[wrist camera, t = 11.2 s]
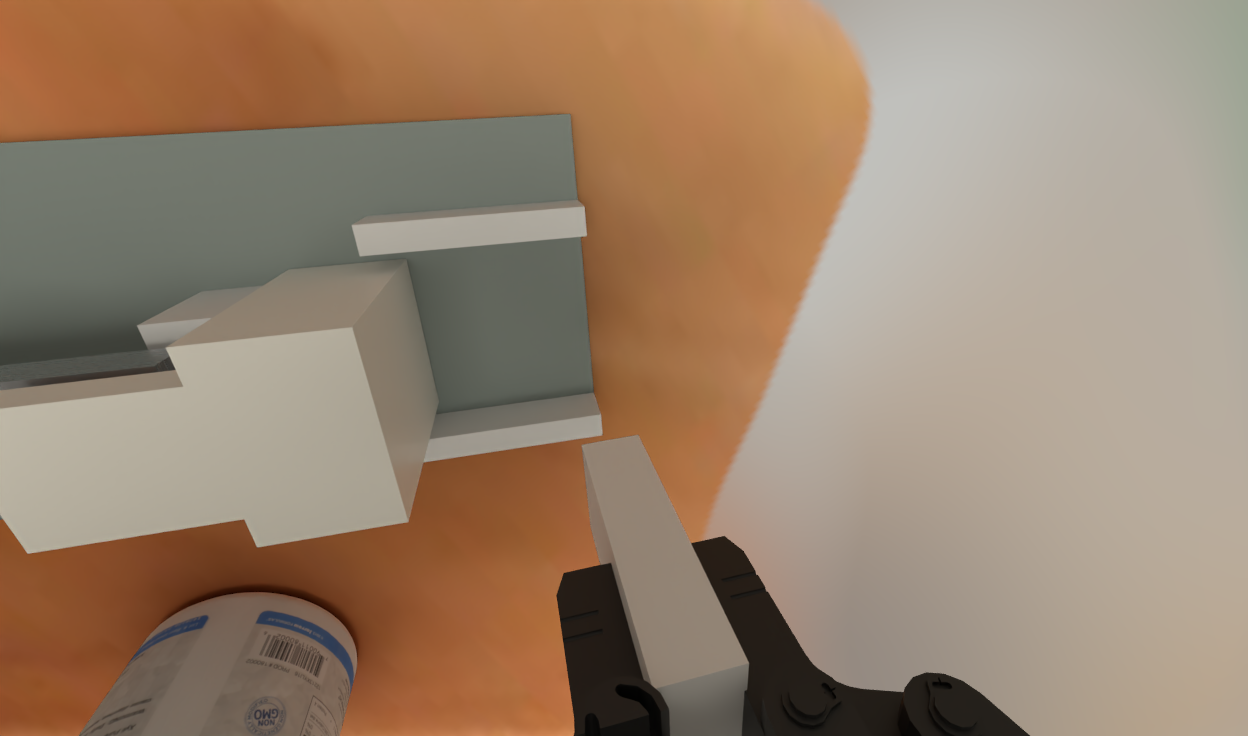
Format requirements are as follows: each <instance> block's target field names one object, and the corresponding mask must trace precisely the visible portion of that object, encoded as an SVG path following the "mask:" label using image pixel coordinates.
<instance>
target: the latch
mask: <svg viewBox="0 0 1248 736" xmlns="http://www.w3.org/2000/svg"><path fill="white" fill-rule="evenodd" d="M166 350H167V352H168V354H169V356H170V358H171V361H172V363H173V365H174V367H175V369H176V370H172V371H163V372H155V373H146V374H137V375H129V376H120V377H111V378H103V379H94V380H85V381H77V382H68V383H60V384H51V385H42V386H34V387H25V388H16V389H8V390H0V515H1V517H2V518H3V519H4V521H5V522H6V524H7V525H8V527H9V528H10V529H11V531H12V532H13V534H14V535H15V536H16V538H17V539H18V541H19V542H20V543H21V545H22V546H23V548H24V549H25V551H26V552H27V553H28V554H30V553H36V552H42V551H49V550H55V549H61V548H67V547H74V546H80V545H86V544H92V543H99V542H105V541H111V540H117V539H124V538H130V537H136V536H142V535H149V534H155V533H161V532H167V531H174V530H180V529H186V528H193V527H199V526H205V525H211V524H218V523H224V522H230V521H236V520H243V519H244V520H245V522H246V524H247V526H248V529H249V531H250V533H251V535H252V537H253V539H254V542H255V544H256V546H257V547H263V546H269V545H275V544H281V543H287V542H293V541H299V540H305V539H311V538H317V537H323V536H329V535H334V534H340V533H346V532H352V531H358V530H364V529H370V528H376V527H382V526H388V525H394V524H400V523H406V522H408V521H409V518H410V514H411V510H412V506H413V502H414V498H415V494H416V490H417V486H418V482H419V478H420V474H421V470H422V466H423V462H424V458H425V454H426V451H427V447H428V443H429V439H430V435H431V431H432V427H433V423H434V419H435V415H436V411H437V407H438V403H439V400H438V395H437V391H436V387H435V382H434V378H433V373H432V369H431V365H430V360H429V356H428V352H427V347H426V343H425V338H424V334H423V330H422V325H421V321H420V316H419V312H418V308H417V303H416V299H415V295H414V290H413V286H412V281H411V277H410V273H409V268H408V264H407V259H397V260H386V261H375V262H364V263H353V264H342V265H331V266H320V267H309V268H298V269H289V270H287V271H285V272H284V273H282V274H281V275H279V276H278V277H276V278H274V279H273V280H271V281H270V282H268V283H267V284H265V285H263V286H262V287H260V288H259V289H257V290H255V291H254V292H252V293H251V294H249V295H248V296H246V297H244V298H243V299H241V300H240V301H238V302H237V303H235V304H233V305H232V306H230V307H229V308H227V309H226V310H224V311H222V312H221V313H219V314H218V315H216V316H215V317H213V318H211V319H210V320H208V321H207V322H205V323H204V324H202V325H200V326H199V327H197V328H196V329H194V330H192V331H191V332H189V333H188V334H186V335H185V336H183V337H181V338H180V339H178V340H177V341H175V342H174V343H172V344H170V345H169V346H167V347H166Z"/></svg>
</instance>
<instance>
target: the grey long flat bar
mask: <svg viewBox="0 0 1248 736" xmlns="http://www.w3.org/2000/svg"><path fill="white" fill-rule="evenodd" d="M172 370H176V369H175V367H174V365H173V363H172V361H171V358H170V356H169V354H168V352H167V350H166V348H162V349H152V350H142V351H133V352H123V353H113V354H104V355H94V356H84V357H75V358H65V359H55V360H46V361H36V362H26V363H17V364H7V365H0V390H8V389H16V388H25V387H34V386H42V385H51V384H60V383H68V382H77V381H85V380H94V379H103V378H111V377H120V376H129V375H137V374H146V373H155V372H163V371H172ZM1 519H3V518H2V517H1V515H0V520H1Z"/></svg>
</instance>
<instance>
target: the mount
mask: <svg viewBox="0 0 1248 736" xmlns="http://www.w3.org/2000/svg"><path fill="white" fill-rule="evenodd" d="M583 236H587V231H586V218H585V206H584V205H583V204H582V203H581V202H579V201H578V198H577V187H576V175H575V163H574V151H573V139H572V127H571V115H570V114H560V115H540V116H521V117H501V118H481V119H462V120H442V121H423V122H403V123H384V124H364V125H344V126H325V127H305V128H286V129H266V130H247V131H227V132H207V133H188V134H168V135H149V136H129V137H110V138H90V139H70V140H51V141H31V142H12V143H0V365H7V364H17V363H26V362H36V361H46V360H55V359H65V358H75V357H84V356H94V355H104V354H113V353H123V352H133V351H142V350H152V349H162V348H166V347H167V346H169V345H170V344H172V343H174V342H175V341H177V340H178V339H180V338H181V337H183V336H185V335H186V334H188V333H189V332H191V331H192V330H194V329H196V328H197V327H199V326H200V325H202V324H204V323H205V322H207V321H208V320H210V319H211V318H213V317H215V316H216V315H218V314H219V313H221V312H222V311H224V310H226V309H227V308H229V307H230V306H232V305H233V304H235V303H237V302H238V301H240V300H241V299H243V298H244V297H246V296H248V295H249V294H251V293H252V292H254V291H255V290H257V289H259V288H260V287H262V286H263V285H265V284H267V283H268V282H270V281H271V280H273V279H274V278H276V277H278V276H279V275H281V274H282V273H284V272H285V271H287V270H289V269H298V268H309V267H320V266H331V265H342V264H353V263H364V262H375V261H386V260H397V259H407V264H408V268H409V273H410V277H411V281H412V286H413V290H414V295H415V299H416V303H417V308H418V312H419V316H420V321H421V325H422V330H423V334H424V338H425V343H426V347H427V352H428V356H429V360H430V365H431V369H432V373H433V378H434V382H435V387H436V391H437V395H438V400H439V403H438V407H437V411H436V415H435V419H434V423H433V427H432V431H431V435H430V439H429V443H428V447H427V451H426V454H425V458H424V462H430V461H436V460H443V459H449V458H456V457H463V456H469V455H476V454H482V453H489V452H496V451H502V450H509V449H515V448H522V447H529V446H535V445H542V444H548V443H555V442H562V441H568V440H575V439H581V438H588V437H595V436H601V435H603V433H602V420H601V413H600V410H599V407H598V404H597V401H596V398H595V395H594V389H593V377H592V365H591V353H590V341H589V329H588V317H587V306H586V294H585V282H584V270H583V258H582V246H581V237H583Z"/></svg>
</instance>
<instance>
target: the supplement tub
mask: <svg viewBox="0 0 1248 736" xmlns="http://www.w3.org/2000/svg"><path fill="white" fill-rule="evenodd" d="M356 669H357V652H356V647H355V644H354V641H353V639H352V637H351V635H350V633H349V632H348V630H347V629H346V627H345V626H344V625H343V624H342V623H341V622H340V621H339V620H338V619H337V618H336V617H335V616H333V615H332V614H331V613H329V612H328V611H326V610H325V609H323V608H321V607H319V606H317V605H315V604H313V603H311V602H308V601H305V600H303V599H300V598H296V597H292V596H288V595H283V594H276V593H266V592H246V593H235V594H229V595H224V596H219V597H215V598H212V599H209V600H205V601H203V602H200V603H197V604H194V605H192V606H189V607H187V608H185V609H183V610H181V611H179V612H178V613H176V614H174V615H173V616H171V617H169V618H168V619H167V620H165V621H164V622H163V623H161V624H160V625H159V626H158V627H157V628H156V629H155V630H154V631H153V632H152V633H151V634H150V635H149V636H148V637H147V639H146V640H145V641H144V642H143V644H142V645H141V647H140V648H139V650H138V651H137V653H136V654H135V655H134V656H133V658H132V659H131V661H130V662H129V664H128V665H127V667H126V668H125V669H124V671H123V672H122V674H121V675H120V676H119V678H118V679H117V681H116V682H115V684H114V685H113V687H112V688H111V690H110V691H109V692H108V694H107V695H106V697H105V698H104V700H103V701H102V702H101V704H100V705H99V707H98V708H97V710H96V711H95V713H94V714H93V716H92V717H91V718H90V720H89V721H88V723H87V724H86V726H85V727H84V729H83V730H82V732H81V733H80V734H79V736H340V732H341V729H342V726H343V721H344V717H345V713H346V709H347V705H348V701H349V697H350V693H351V689H352V685H353V681H354V678H355V674H356Z"/></svg>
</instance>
